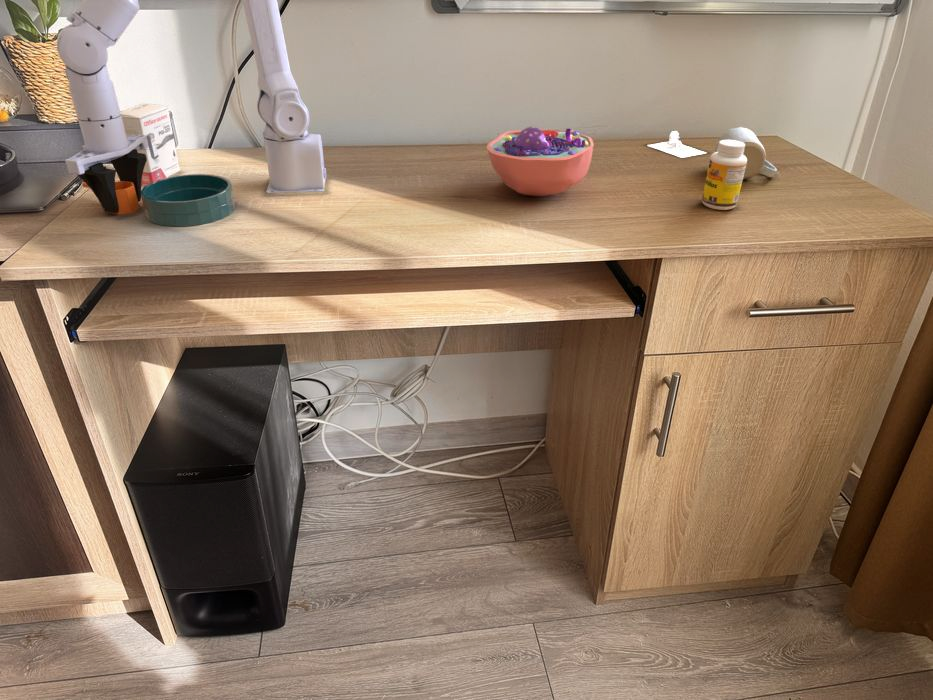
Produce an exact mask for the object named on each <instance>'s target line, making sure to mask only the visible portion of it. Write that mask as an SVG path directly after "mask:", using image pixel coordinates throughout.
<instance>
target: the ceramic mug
mask: <svg viewBox="0 0 933 700" xmlns="http://www.w3.org/2000/svg"><path fill="white" fill-rule="evenodd" d="M721 140H736V141H740V142H743V143H744V144H745V148H744V153H743V155H744V156H745V157H746V158H747V163H746V168H745V172H744V176H743V180H748V179H750V178H753V177H755V176H757V175H758V174H761V175H762V176H765V177H767V178H770V179H771V178H774V176H775V175H776V174H777V172H778V169H777V167H775V165H773V164H772V163H771V162H769V161H768V160H766V158H767V155H766V149H765V147H764V146H763V144H762V143H761V142H760V140H759V138H758V137H757V135H756V134H755V133H754V132H753V131H752V130H751V129H749V128H747V127H743V126H740V127H739V126H738V127H733V128H730V129H728V130H727V131H725V132H724V133H723V134H722V135H721V136H720V137H719V138H718V141H717V142H716V144H715V148H714V149H715V150H714V153H715V152H717V148H718V144H719V141H721Z"/></svg>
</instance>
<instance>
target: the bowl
mask: <svg viewBox="0 0 933 700" xmlns="http://www.w3.org/2000/svg"><path fill="white" fill-rule="evenodd" d="M141 202H142V206H143V210H144V213H145V216H146V219H147V220H148V221H149V222H150V223H153V224H155V225H159V226H164V227H193V226H200V225H205V224H210V223H214V222H217V221H219V220H223V219H224V218H226V217H228V216H230V215H232V213H233V212H235V209H236V202H235V197H234V191H233V185H232V182H231V181H230V180H229V179H228V178H226V177H223V176H220V175H216V174H215V175H214V174H203V173H193V174H192V173H191V174H182V175H181V174H180V175H174V176H169V177H167V178H164V179H161V180H157V181H155V182H152V183H150V184H148V185H147V184H146V185H145V186H143V188H141Z"/></svg>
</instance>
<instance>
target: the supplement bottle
mask: <svg viewBox="0 0 933 700" xmlns="http://www.w3.org/2000/svg"><path fill="white" fill-rule="evenodd" d="M744 148H745V144H744V143H743V142H740V141H736V140H721V141H719V144H718V148H717V152H715V151H714V152H713V153H712V154H711V155H710V157H709V161H708V168H707V171H706V172H707V173H706V176H705V181H704V187H703V192H702V198H701V203H702V204H703V205H704V206H705V207H707V208H709V209H712V210H716V211H717V210H718V211H727V210H733V209H735V208H736V207H737V205H738V201H739V197H740V193H741V189H742V185H743V181H744V179H743V176H744V172H745V168H746V163H747V158H746V157H745V156H744V155H743V153H744Z"/></svg>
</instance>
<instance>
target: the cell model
mask: <svg viewBox="0 0 933 700" xmlns="http://www.w3.org/2000/svg"><path fill="white" fill-rule="evenodd" d="M594 146H595V145H594V141H593V139H592V137H591V136H588V135H584V134H580V133H579V132H578V131H576V130H572V129H571V128H566V129H565V130H560V129H559V130H558V129H553V130H552V129H539V128H538V127H534V126H528V127H526V128H524V129H521V130H509V131H505V132H501V134H499V135H498V136H497V137H496V138H495V139H492V140H491V141H490V142H488V143H487V145H486V150H487V153H488V156H489V160H490V163H491V166H492V168H493V170H494V171H495V173H496V174H497V176H498V177H499V178H500V180H501V181H502V182H503V183H504V185H505V186H507V188H509V189H511V190H513V191H514V192H516V193H517V194H520V195H523V196H529V197H548V196H555V195H558V194H561V193H563V192H565V191H567V190H568V189H570V188H572V187H573V186H575V185H577V184H579V183H581V182H582V181H583V180H584V179H585V177H586V176H587V174H588V172H589V169H590V166H591V162H592V158H593V152H594Z"/></svg>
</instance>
